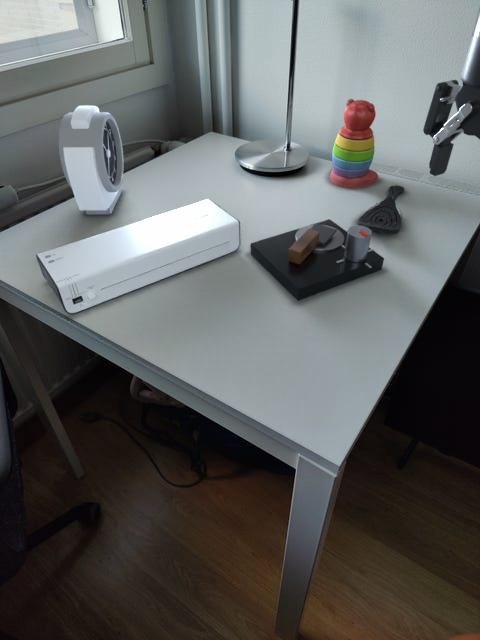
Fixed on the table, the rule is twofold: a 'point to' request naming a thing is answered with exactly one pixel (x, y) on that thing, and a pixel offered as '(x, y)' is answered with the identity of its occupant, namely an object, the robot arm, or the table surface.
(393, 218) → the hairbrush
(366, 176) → the stacking bear
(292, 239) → the hob
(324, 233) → the spatula
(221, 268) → the table surface
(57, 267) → the laminator
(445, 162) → the robot arm
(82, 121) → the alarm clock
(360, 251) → the hob knob
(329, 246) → the burner
